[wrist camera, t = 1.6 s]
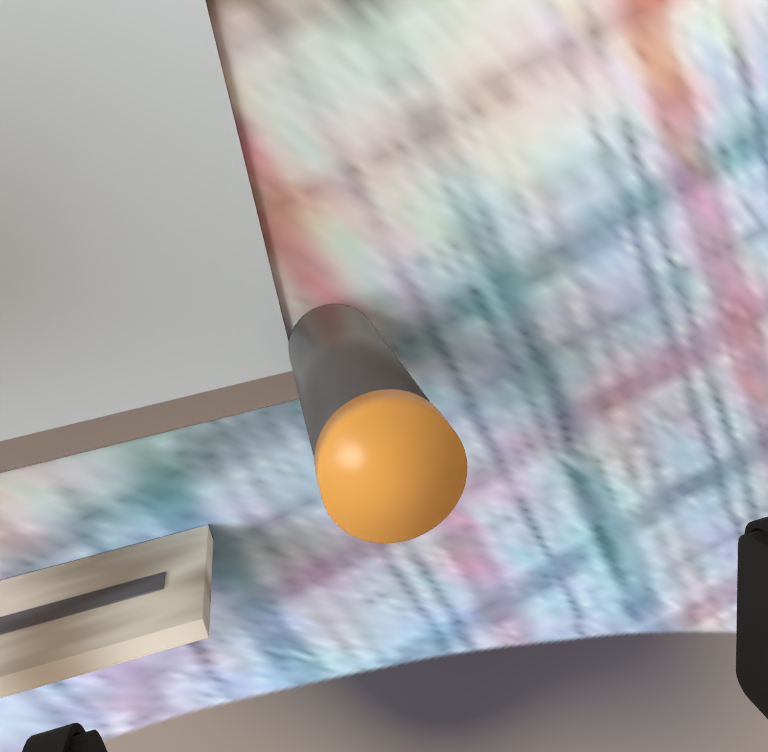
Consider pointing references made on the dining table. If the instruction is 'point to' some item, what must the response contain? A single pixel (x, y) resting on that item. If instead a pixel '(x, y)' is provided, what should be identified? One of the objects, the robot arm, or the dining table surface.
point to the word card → (104, 610)
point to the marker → (372, 430)
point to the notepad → (125, 232)
